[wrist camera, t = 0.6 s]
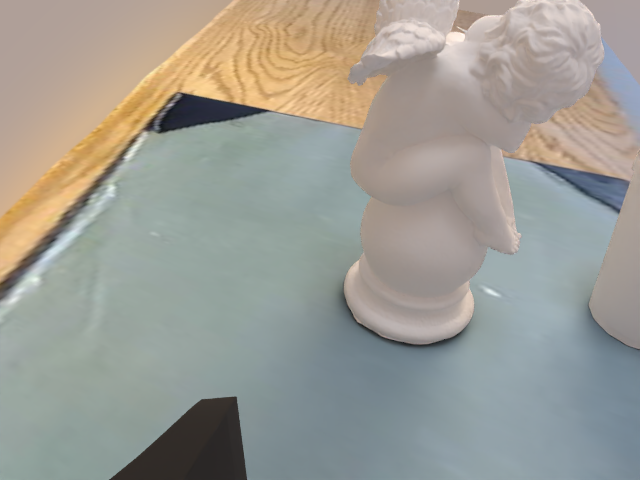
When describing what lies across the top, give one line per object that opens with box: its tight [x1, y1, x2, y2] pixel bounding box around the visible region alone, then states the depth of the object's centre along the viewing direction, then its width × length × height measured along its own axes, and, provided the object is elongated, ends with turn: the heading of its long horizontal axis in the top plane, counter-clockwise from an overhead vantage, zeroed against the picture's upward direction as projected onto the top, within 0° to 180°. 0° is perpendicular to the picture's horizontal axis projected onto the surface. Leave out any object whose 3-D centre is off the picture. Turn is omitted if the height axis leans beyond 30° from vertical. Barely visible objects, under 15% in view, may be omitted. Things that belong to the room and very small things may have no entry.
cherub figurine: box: [344, 0, 604, 345], centre depth 32 cm, size 12×12×22 cm
